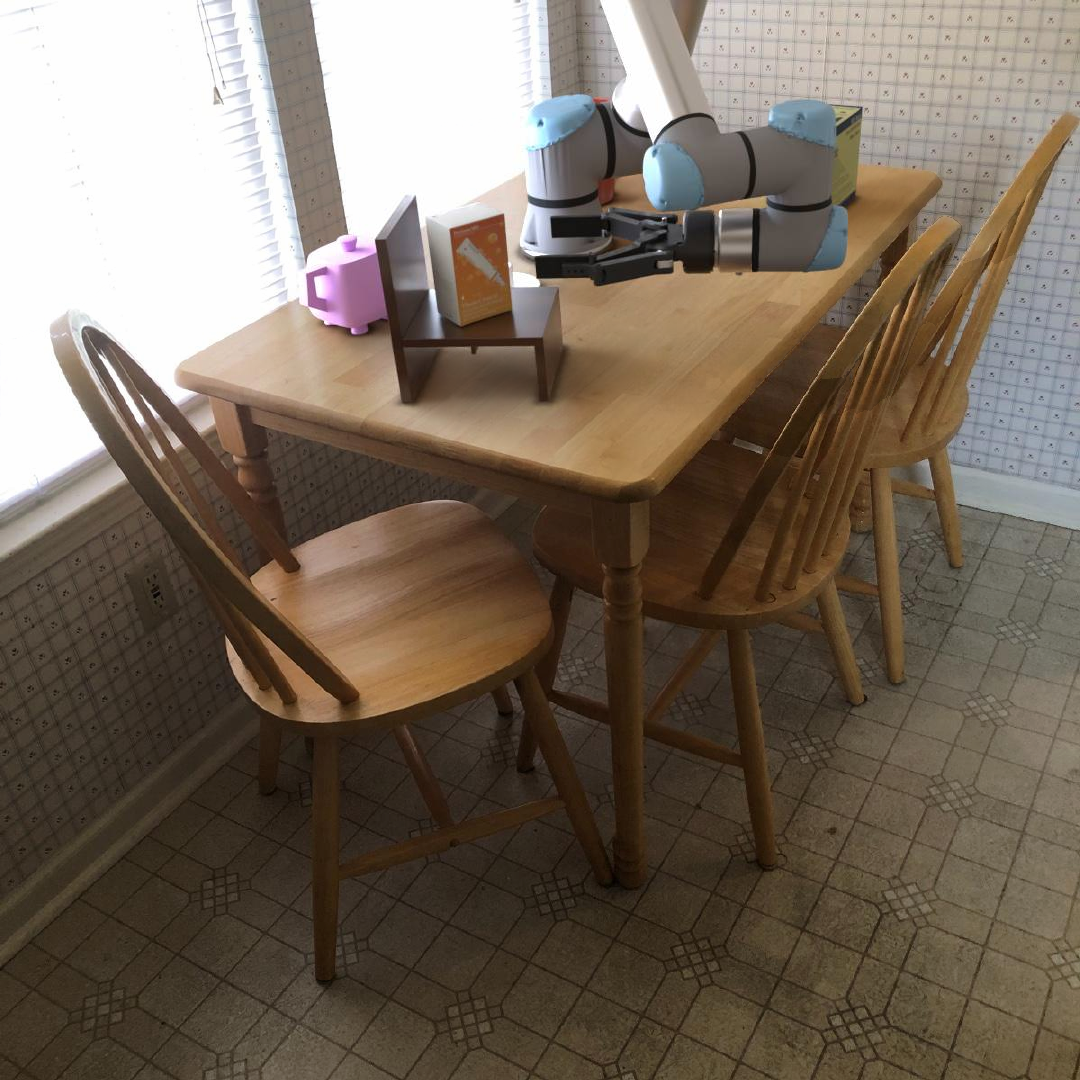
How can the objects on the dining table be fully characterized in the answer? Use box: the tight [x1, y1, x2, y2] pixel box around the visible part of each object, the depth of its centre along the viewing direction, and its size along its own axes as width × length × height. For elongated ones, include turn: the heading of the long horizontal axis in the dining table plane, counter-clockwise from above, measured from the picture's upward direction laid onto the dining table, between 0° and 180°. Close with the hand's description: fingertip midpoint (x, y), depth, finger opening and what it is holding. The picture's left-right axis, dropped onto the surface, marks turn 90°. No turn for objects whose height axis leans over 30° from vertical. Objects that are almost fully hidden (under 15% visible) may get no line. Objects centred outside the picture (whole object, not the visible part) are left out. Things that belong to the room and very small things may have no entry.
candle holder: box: [508, 261, 541, 288], centre depth 173 cm, size 12×12×4 cm
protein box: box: [828, 103, 864, 208], centre depth 189 cm, size 10×16×16 cm
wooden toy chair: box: [374, 194, 564, 403], centre depth 145 cm, size 16×19×22 cm
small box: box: [424, 201, 512, 327], centre depth 142 cm, size 8×6×13 cm
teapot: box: [297, 234, 388, 335], centre depth 166 cm, size 20×12×13 cm, turn 139°
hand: (543, 246), depth 140 cm, fingers open, 13 cm apart
